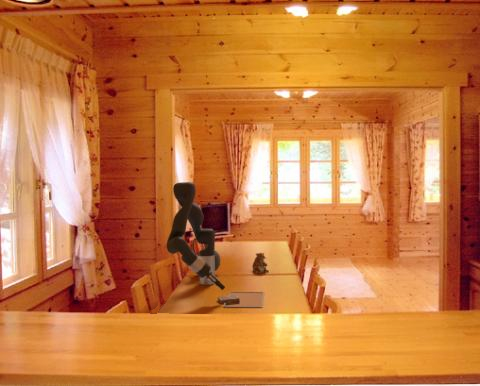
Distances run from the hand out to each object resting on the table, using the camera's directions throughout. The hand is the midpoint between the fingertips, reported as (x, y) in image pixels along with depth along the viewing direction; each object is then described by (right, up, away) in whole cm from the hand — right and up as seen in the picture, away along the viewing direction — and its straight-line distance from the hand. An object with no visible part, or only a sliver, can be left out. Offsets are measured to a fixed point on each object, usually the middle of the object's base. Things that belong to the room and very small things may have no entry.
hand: (223, 288), depth 217 cm
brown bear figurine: (+21, -5, +71) cm, 74 cm away
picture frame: (+11, -7, +3) cm, 13 cm away
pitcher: (-14, -6, +64) cm, 66 cm away
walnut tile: (-2, -6, -1) cm, 7 cm away
